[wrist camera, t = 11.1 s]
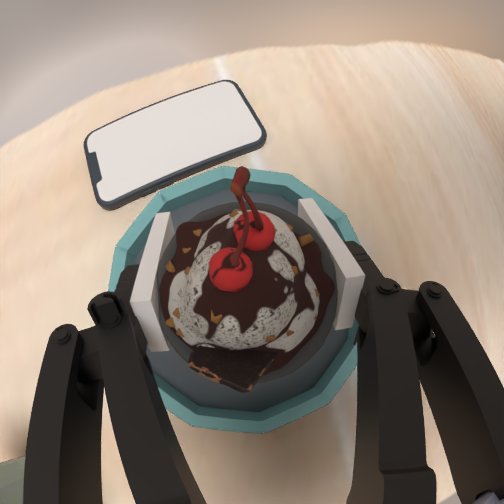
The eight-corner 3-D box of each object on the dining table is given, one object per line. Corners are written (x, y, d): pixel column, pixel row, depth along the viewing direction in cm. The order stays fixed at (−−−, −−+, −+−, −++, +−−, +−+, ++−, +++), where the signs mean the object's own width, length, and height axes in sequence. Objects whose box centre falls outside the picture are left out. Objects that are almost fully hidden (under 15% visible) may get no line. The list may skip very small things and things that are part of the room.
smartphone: (232, 85, 28) (86, 143, 25) (232, 75, 26) (80, 134, 24) (270, 149, 26) (105, 218, 24) (272, 140, 25) (98, 212, 22)
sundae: (246, 232, 21) (262, 79, 7) (310, 304, 20) (454, 282, 6) (174, 294, 20) (42, 252, 5) (238, 367, 19) (241, 491, 5)
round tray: (296, 155, 26) (304, 138, 23) (388, 353, 23) (406, 356, 20) (95, 238, 23) (79, 229, 20) (182, 446, 20) (176, 462, 17)
